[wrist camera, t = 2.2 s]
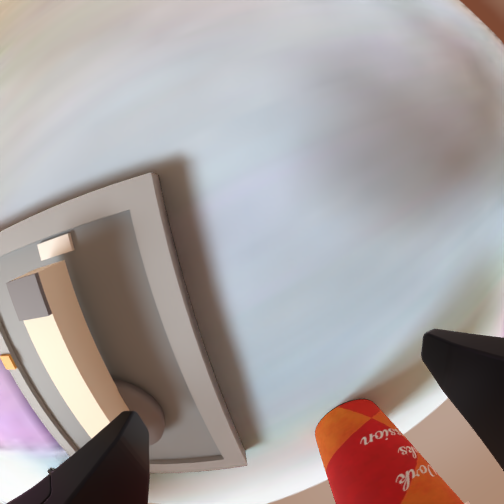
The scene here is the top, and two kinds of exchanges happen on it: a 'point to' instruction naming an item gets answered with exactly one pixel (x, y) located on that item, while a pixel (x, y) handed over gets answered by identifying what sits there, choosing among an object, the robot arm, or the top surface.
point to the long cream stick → (76, 353)
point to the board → (122, 321)
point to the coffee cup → (375, 460)
